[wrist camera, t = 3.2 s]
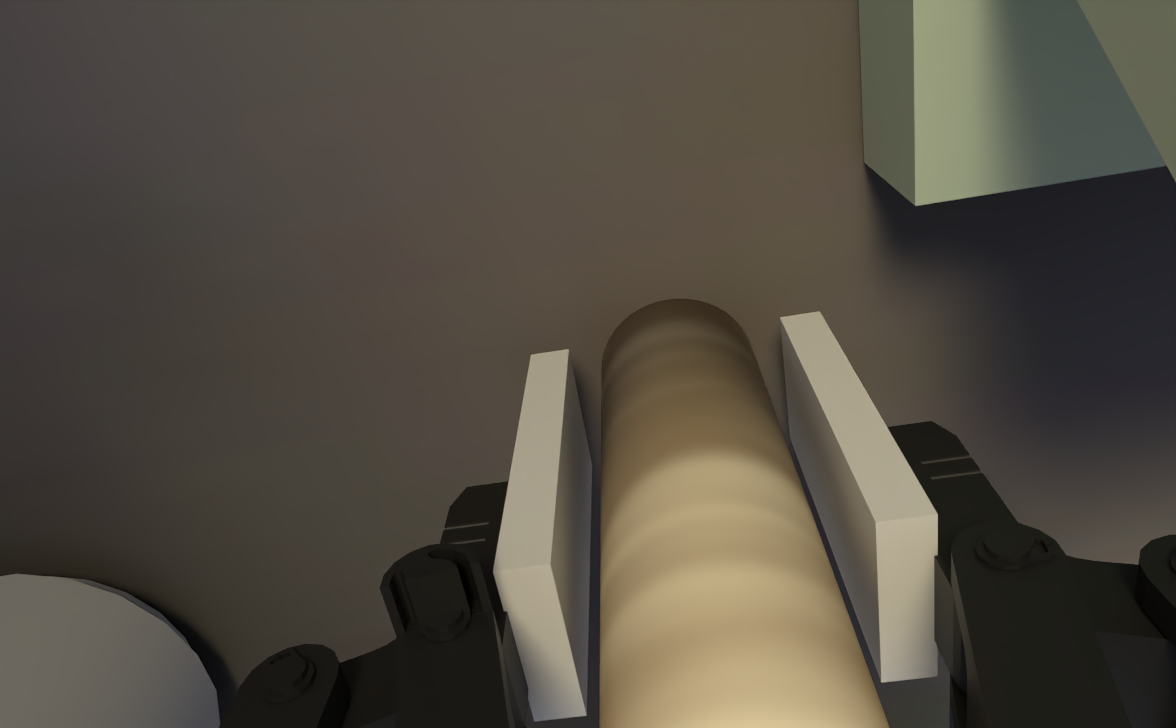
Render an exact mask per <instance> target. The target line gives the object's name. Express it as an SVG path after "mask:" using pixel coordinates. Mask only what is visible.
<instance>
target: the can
mask: <svg viewBox="0 0 1176 728" xmlns="http://www.w3.org/2000/svg"><path fill="white" fill-rule="evenodd" d="M219 726H220V718H219V709H218V700H217V691H216V689H215V687H214V685H213V683H212V681H211V679H210V677H209V675H208V674H207V672H206V670H205V668H204V666H203V664H202V662H201V661H200V659H199V657H198V655H197V654H196V653H195V652H194V651H193V650H192V649H191V647H190V645H189V644H188V642H187V640H186V638H185V637H184V636H183V635H182V634H181V633H180V632H179V631H178V630H177V629H176V628H175V627H174V626H173V625H172V624H171V623H170V622H169V621H168V620H167V619H166V618H165V617H164V616H163V615H162V614H161V613H160V612H158V611H157V610H155V609H153V608H152V607H150V606H148V605H147V604H145V603H143V602H142V601H140V600H138V599H137V598H135V597H133V596H132V595H130V594H128V593H127V592H124V591H121V590H118V589H115V588H112V587H109V586H106V585H103V584H100V583H97V582H94V581H91V580H87V579H76V578H65V577H54V576H37V575H26V574H12V575H6V576H0V728H219Z"/></svg>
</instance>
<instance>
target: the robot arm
mask: <svg viewBox="0 0 1176 728" xmlns="http://www.w3.org/2000/svg"><path fill="white" fill-rule="evenodd" d="M780 325H781V337H782V349H783V361H784V373H785V385H786V397H787V409H788V421H789V433H790V440H791V442H792V445H793V448H794V450H795V453H796V456H797V458H798V461H799V464H800V466H801V469H802V472H803V474H804V477H805V480H806V482H807V485H808V488H809V490H810V493H811V496H812V498H813V501H814V504H815V506H816V509H817V512H818V514H819V517H820V520H821V522H822V525H823V528H824V530H825V533H826V536H827V538H828V541H829V544H830V547H831V549H832V552H833V555H834V557H835V560H836V563H837V565H838V568H839V571H840V573H841V576H842V579H843V581H844V584H845V587H846V589H847V592H848V595H849V597H850V600H851V603H852V605H853V608H854V611H855V613H856V616H857V619H858V621H859V624H860V627H861V629H862V632H863V635H864V637H865V640H866V643H867V645H868V648H869V651H870V653H871V656H872V659H873V661H874V664H875V667H876V669H877V672H878V675H879V677H880V680H881V683H883V682H892V681H901V680H910V679H918V678H927V677H936V676H938V648H939V651H940V653H941V655H942V657H943V659H944V661H945V663H946V665H947V667H948V670H949V672H950V728H1176V535H1167V536H1164V537H1161V538H1157V539H1154V540H1151V541H1150V542H1149V543H1148V544H1147V545H1146V546H1144V547H1143V548H1142V549H1141V551H1140V558H1139V565H1134V564H1123V563H1112V562H1100V561H1091V560H1085V559H1078V558H1074V557H1070V556H1067V555H1065V553H1064V552H1063V550H1062V549H1061V547H1060V546H1059V545H1058V543H1057V542H1056V541H1055V540H1054V539H1052V538H1051V537H1049V536H1048V535H1046V534H1045V533H1043V532H1042V531H1040V530H1038V529H1035V528H1032V527H1029V526H1026V525H1023V524H1020V523H1018V522H1017V521H1016V519H1015V518H1014V516H1013V515H1012V514H1011V512H1010V511H1009V509H1008V508H1007V507H1006V505H1005V504H1004V502H1003V501H1002V500H1001V498H1000V497H999V495H998V494H997V493H996V491H995V490H994V488H993V487H992V485H991V484H990V483H989V481H988V480H987V478H986V477H985V476H984V474H983V473H981V472H980V469H979V467H978V466H977V464H976V463H975V462H974V460H973V459H972V458H970V456H969V453H968V452H967V450H966V449H965V448H964V446H963V445H962V443H961V442H960V441H959V439H958V438H957V436H956V435H954V434H952V433H951V432H949V431H947V430H946V429H944V428H942V427H941V426H939V425H937V424H935V423H934V422H932V421H929V422H921V423H914V424H907V425H900V426H892V427H887V426H886V425H885V423H884V421H883V419H882V418H881V416H880V414H879V412H878V411H877V409H876V407H875V406H874V404H873V402H872V400H871V399H870V397H869V395H868V394H867V392H866V390H865V388H864V387H863V385H862V383H861V382H860V380H859V378H858V376H857V375H856V373H855V371H854V370H853V368H852V366H851V364H850V363H849V361H848V359H847V358H846V356H845V354H844V352H843V351H842V349H841V347H840V346H839V344H838V342H837V340H836V339H835V337H834V335H833V333H832V332H831V330H830V328H829V327H828V325H827V323H826V321H825V320H824V318H823V316H822V315H821V313H820V311H819V312H812V313H806V314H799V315H792V316H786V317H780ZM591 495H592V462H591V457H590V452H589V447H588V442H587V437H586V432H585V427H584V422H583V417H582V412H581V407H580V402H579V397H578V392H577V387H576V382H575V377H574V372H573V367H572V363H571V358H570V353H569V349H566V350H559V351H553V352H546V353H539V354H533V355H531V358H530V363H529V369H528V375H527V380H526V386H525V392H524V397H523V403H522V409H521V415H520V420H519V426H518V432H517V437H516V443H515V449H514V454H513V460H512V466H511V471H510V477H509V481H508V482H501V483H493V484H486V485H479V486H471V487H466V489H465V490H464V491H463V492H462V493H461V494H460V496H459V497H458V498H457V499H456V500H455V501H454V503H453V504H452V505H451V506H450V509H449V512H448V516H447V520H446V524H445V530H444V531H443V535H442V538H441V542H440V544H435V545H428V546H426V547H423V548H420V549H418V550H415V551H412V552H410V553H408V554H407V555H405V556H404V557H402V558H401V559H399V560H398V561H396V562H395V563H394V564H393V565H392V566H391V567H390V569H389V570H388V571H387V572H386V573H385V574H384V576H383V580H382V583H381V586H380V590H381V593H382V596H383V599H384V602H385V604H386V607H387V610H388V613H389V616H390V619H391V622H392V624H393V627H394V630H395V633H396V636H397V637H396V639H395V640H394V641H392V642H390V643H389V644H387V645H385V646H383V647H381V648H379V649H376V650H374V651H372V652H369V653H366V654H364V655H361V656H358V657H356V658H353V659H350V660H347V661H345V662H342V663H339V661H338V658H337V656H336V654H335V652H334V651H333V650H331V649H329V648H327V647H325V646H323V645H317V644H303V645H299V646H295V647H290V648H287V649H285V650H282V651H280V652H278V653H276V654H274V655H272V656H270V657H268V658H267V659H266V660H265V661H263V662H262V663H261V664H260V665H258V666H257V667H256V668H255V669H253V670H252V671H251V672H250V674H249V675H248V677H247V678H246V679H245V681H244V682H243V683H242V685H241V686H240V688H239V690H238V692H237V694H236V696H235V697H234V699H233V701H232V703H231V705H230V707H229V709H228V711H227V713H226V715H225V717H224V718H223V720H222V722H221V724H220V726H219V728H526V725H525V718H526V708H527V698H528V700H529V704H530V708H531V711H532V715H533V719H534V722H535V721H544V720H552V719H561V718H570V717H579V716H587V675H588V630H589V585H590V540H591Z"/></svg>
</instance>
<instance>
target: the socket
mask: <svg viewBox="0 0 1176 728" xmlns="http://www.w3.org/2000/svg"><path fill="white" fill-rule="evenodd" d="M858 5H859V33H860V61H861V90H862V118H863V146H864V163H865V164H867V165H868V166H869V167H870V168H871V169H872V170H874V171H875V172H876V173H877V174H878V175H880V176H881V177H882V178H883V179H884V180H885V181H887V182H888V183H889V184H890V185H891V186H892V187H894V188H895V189H896V190H897V191H898V192H899V193H901V194H902V195H903V196H904V197H905V198H907V199H908V200H909V201H910V202H911V203H912V204H914V205H915V206H919V205H925V204H931V203H938V202H944V201H950V200H956V199H963V198H969V197H975V196H981V195H988V194H994V193H1000V192H1007V191H1013V190H1019V189H1025V188H1032V187H1038V186H1044V185H1051V184H1057V183H1063V182H1069V181H1076V180H1082V179H1088V178H1094V177H1101V176H1107V175H1113V174H1120V173H1126V172H1132V171H1138V170H1145V169H1151V168H1157V167H1163V166H1167V167H1168V169H1169V171H1170V173H1171V174H1172V176H1173V178H1174V180H1175V182H1176V0H858Z"/></svg>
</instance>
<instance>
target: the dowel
mask: <svg viewBox="0 0 1176 728" xmlns="http://www.w3.org/2000/svg"><path fill="white" fill-rule="evenodd" d="M600 728H890V727H889V725H888V722H887V719H886V716H885V714H884V711H883V708H882V705H881V703H880V700H879V697H878V694H877V692H876V689H875V686H874V683H873V681H872V678H871V675H870V672H869V670H868V667H867V664H866V661H865V658H864V656H863V653H862V650H861V647H860V645H859V642H858V639H857V636H856V634H855V631H854V628H853V625H852V623H851V620H850V617H849V614H848V612H847V609H846V606H845V603H844V601H843V598H842V595H841V592H840V590H839V587H838V584H837V581H836V579H835V576H834V573H833V570H832V568H831V565H830V562H829V559H828V556H827V554H826V551H825V548H824V545H823V543H822V540H821V537H820V534H819V532H818V529H817V526H816V523H815V521H814V518H813V515H812V512H811V510H810V507H809V504H808V501H807V499H806V496H805V493H804V490H803V488H802V485H801V482H800V479H799V477H798V474H797V471H796V468H795V466H794V463H793V460H792V457H791V455H790V452H789V449H788V446H787V443H786V441H785V438H784V435H783V432H782V430H781V427H780V424H779V421H778V419H777V416H776V413H775V410H774V408H773V405H772V402H771V399H770V397H769V394H768V391H767V388H766V386H765V383H764V380H763V377H762V375H761V372H760V369H759V366H758V364H757V361H756V358H755V355H754V353H753V350H752V347H751V344H750V341H749V339H748V337H747V335H746V333H745V332H744V330H743V329H742V328H741V326H740V325H739V324H738V323H737V322H736V321H735V320H734V319H733V318H732V317H731V316H730V315H728V314H727V313H726V312H724V311H723V310H721V309H719V308H718V307H715V306H713V305H711V304H708V303H705V302H702V301H698V300H691V299H670V300H664V301H659V302H656V303H653V304H650V305H647V306H645V307H643V308H641V309H639V310H637V311H636V312H634V313H633V314H631V315H630V316H629V317H628V318H626V319H625V320H624V321H623V322H622V323H621V324H620V325H619V326H618V327H617V329H616V330H615V331H614V333H613V334H612V336H611V337H610V339H609V341H608V343H607V345H606V348H605V351H604V354H603V360H602V396H601V562H600Z"/></svg>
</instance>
